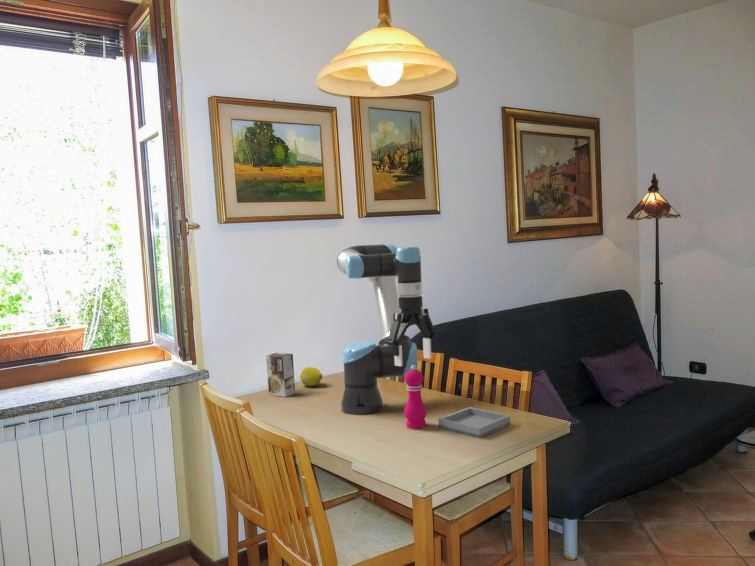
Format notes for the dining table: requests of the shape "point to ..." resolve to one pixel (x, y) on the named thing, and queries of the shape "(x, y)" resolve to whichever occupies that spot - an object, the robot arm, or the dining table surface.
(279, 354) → the coffee box
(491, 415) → the tray
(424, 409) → the pepper mill
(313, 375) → the lemon
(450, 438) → the dining table surface
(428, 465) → the dining table surface
